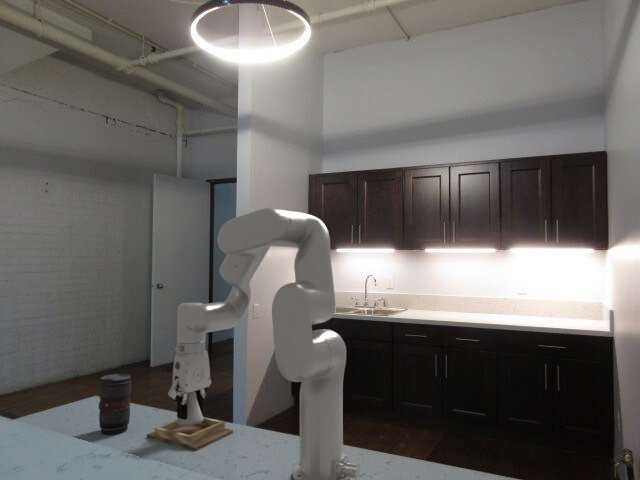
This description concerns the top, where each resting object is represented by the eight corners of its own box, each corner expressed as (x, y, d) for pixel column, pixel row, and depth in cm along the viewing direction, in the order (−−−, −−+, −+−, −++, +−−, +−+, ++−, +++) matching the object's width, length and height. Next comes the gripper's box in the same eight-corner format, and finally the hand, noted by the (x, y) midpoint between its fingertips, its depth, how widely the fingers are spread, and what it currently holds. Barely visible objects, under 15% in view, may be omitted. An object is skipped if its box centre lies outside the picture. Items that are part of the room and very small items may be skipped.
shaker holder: (232, 433, 126) (232, 422, 126) (195, 451, 114) (195, 439, 114) (185, 422, 135) (186, 412, 135) (146, 437, 123) (146, 427, 123)
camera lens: (118, 437, 123) (119, 380, 124) (92, 435, 125) (93, 379, 126) (136, 426, 131) (137, 373, 132) (111, 425, 133) (112, 372, 134)
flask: (175, 427, 120) (176, 389, 121) (176, 418, 127) (177, 382, 128) (204, 425, 122) (204, 387, 123) (203, 416, 129) (204, 380, 130)
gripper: (176, 354, 117) (175, 427, 116) (222, 344, 131) (222, 408, 130) (156, 351, 120) (155, 422, 119) (203, 342, 135) (202, 404, 134)
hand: (190, 414), depth 125 cm, fingers closed on flask, 5 cm apart
